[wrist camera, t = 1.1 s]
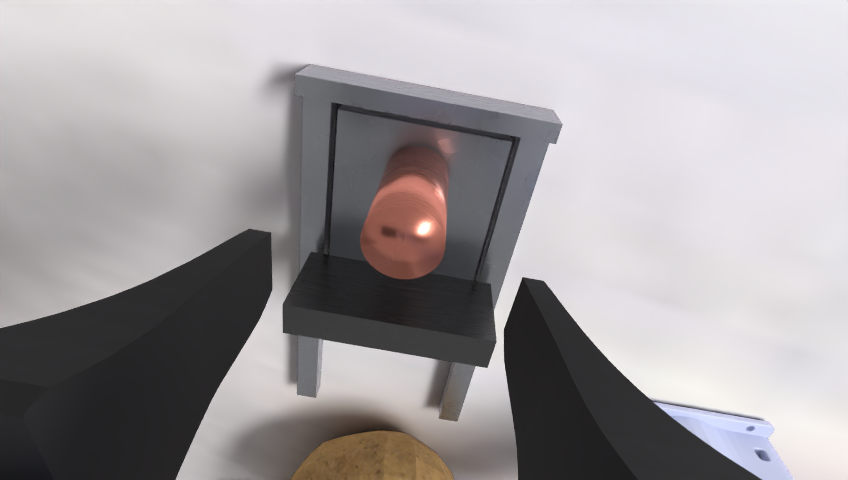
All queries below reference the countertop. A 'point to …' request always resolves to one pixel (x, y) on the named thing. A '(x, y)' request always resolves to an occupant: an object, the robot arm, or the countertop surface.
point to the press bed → (428, 103)
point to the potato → (373, 459)
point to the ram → (404, 240)
